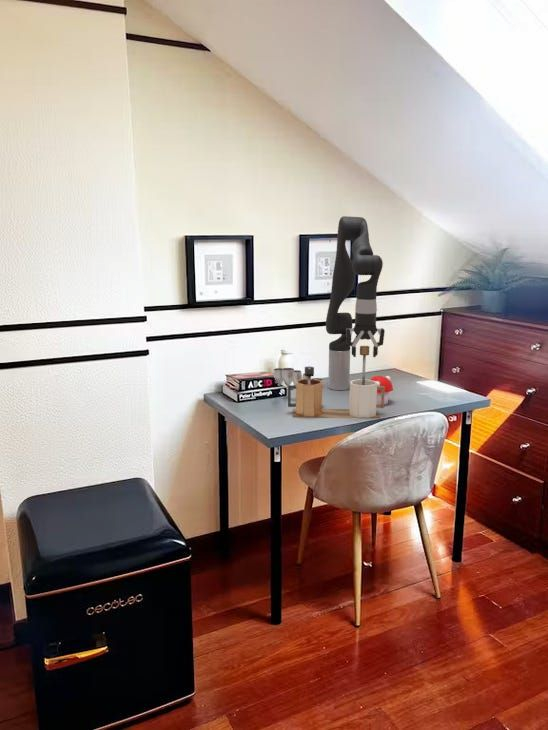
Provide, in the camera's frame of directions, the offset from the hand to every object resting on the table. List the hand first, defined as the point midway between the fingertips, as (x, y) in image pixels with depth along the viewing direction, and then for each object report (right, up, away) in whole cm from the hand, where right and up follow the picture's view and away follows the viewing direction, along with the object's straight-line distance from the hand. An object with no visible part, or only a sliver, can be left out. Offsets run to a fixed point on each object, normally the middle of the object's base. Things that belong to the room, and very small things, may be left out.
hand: (364, 356), depth 225 cm
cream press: (+2, -21, +5) cm, 22 cm away
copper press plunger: (-20, -20, +5) cm, 29 cm away
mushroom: (+9, -19, +20) cm, 29 cm away
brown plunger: (0, -12, +3) cm, 13 cm away
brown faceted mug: (-22, -21, +6) cm, 31 cm away
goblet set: (-24, -19, +23) cm, 38 cm away
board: (-10, -22, +5) cm, 25 cm away
